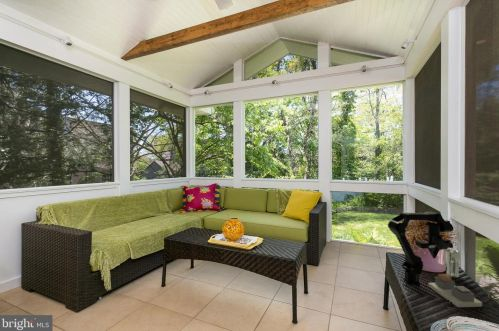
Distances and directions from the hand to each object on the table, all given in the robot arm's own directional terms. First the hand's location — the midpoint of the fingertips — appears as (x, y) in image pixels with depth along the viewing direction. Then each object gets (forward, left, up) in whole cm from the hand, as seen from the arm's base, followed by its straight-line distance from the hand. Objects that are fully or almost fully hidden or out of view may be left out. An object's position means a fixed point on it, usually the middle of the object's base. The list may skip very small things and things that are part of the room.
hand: (434, 258), depth 142 cm
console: (-3, -17, -13) cm, 21 cm away
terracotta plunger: (-3, -11, -10) cm, 15 cm away
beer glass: (+15, +4, -13) cm, 20 cm away
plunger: (-3, -22, -11) cm, 25 cm away
